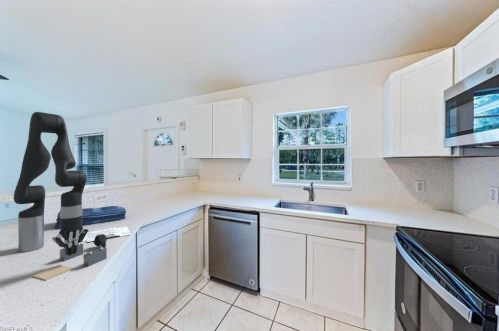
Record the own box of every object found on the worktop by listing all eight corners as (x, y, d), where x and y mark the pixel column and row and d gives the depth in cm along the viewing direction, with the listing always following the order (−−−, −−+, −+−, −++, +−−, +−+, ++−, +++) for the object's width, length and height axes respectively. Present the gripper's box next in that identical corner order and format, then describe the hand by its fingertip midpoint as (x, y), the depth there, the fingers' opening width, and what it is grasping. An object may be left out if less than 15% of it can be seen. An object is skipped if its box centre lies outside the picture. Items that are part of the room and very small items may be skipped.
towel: (127, 219, 164) (127, 207, 164) (53, 230, 136) (54, 215, 136) (122, 214, 182) (122, 202, 182) (56, 222, 154) (56, 209, 154)
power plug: (99, 252, 101) (94, 233, 107) (96, 261, 104) (91, 242, 110) (112, 248, 105) (106, 230, 111) (109, 257, 108) (104, 239, 114)
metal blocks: (59, 260, 94) (59, 248, 94) (79, 253, 101) (79, 242, 101) (88, 267, 88) (88, 254, 88) (106, 259, 95) (106, 247, 95)
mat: (31, 276, 80) (31, 275, 80) (59, 266, 89) (59, 264, 89) (45, 281, 77) (45, 279, 77) (72, 269, 86) (72, 268, 86)
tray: (73, 236, 126) (73, 230, 126) (125, 228, 144) (125, 222, 144) (72, 247, 111) (72, 240, 111) (131, 235, 128) (131, 229, 128)
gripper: (82, 211, 97) (82, 247, 97) (46, 218, 85) (46, 260, 85) (93, 212, 95) (93, 249, 95) (58, 220, 82) (58, 262, 82)
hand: (71, 254), depth 90 cm, fingers closed
